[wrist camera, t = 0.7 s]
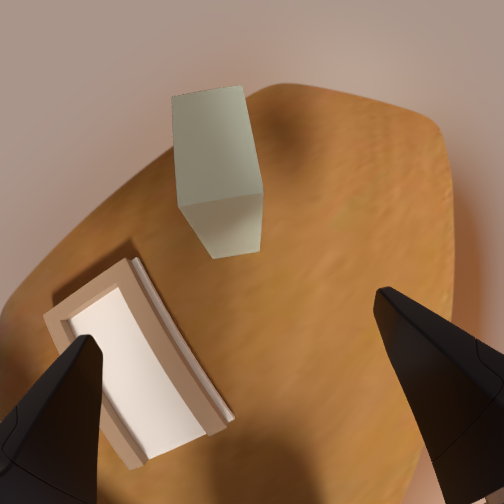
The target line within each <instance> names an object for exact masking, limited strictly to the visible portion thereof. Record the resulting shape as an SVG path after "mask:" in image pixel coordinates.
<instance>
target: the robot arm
mask: <svg viewBox="0 0 504 504" xmlns="http://www.w3.org/2000/svg"><path fill="white" fill-rule="evenodd" d="M373 312H374V317H375V319H376V322H377V325H378V328H379V331H380V334H381V337H382V340H383V343H384V346H385V349H386V352H387V354H388V357H389V359H390V362H391V364H392V366H393V368H394V370H395V373H396V375H397V377H398V379H399V382H400V384H401V386H402V389H403V391H404V393H405V395H406V398H407V400H408V403H409V405H410V407H411V410H412V412H413V415H414V417H415V420H416V422H417V425H418V427H419V430H420V432H421V435H422V437H423V440H424V442H425V445H426V448H427V450H428V453H429V456H430V458H431V461H432V464H433V467H434V470H435V473H436V476H437V479H438V482H439V485H440V488H441V491H442V494H443V497H444V500H445V503H446V504H472V503H474V502H476V501H478V500H480V499H482V498H484V497H485V499H486V503H484V504H504V354H502V353H500V352H498V351H496V350H495V349H493V348H491V347H490V346H488V345H486V344H485V343H483V342H481V341H480V340H478V339H475V337H473V336H472V335H470V334H469V333H467V332H465V331H464V330H462V329H461V328H459V327H457V326H455V325H454V324H452V323H451V322H449V321H447V320H446V319H444V318H442V317H441V316H439V315H438V314H436V313H434V312H433V311H431V310H429V309H427V308H426V307H424V306H422V305H421V304H419V303H417V302H416V301H414V300H412V299H411V298H409V297H407V296H405V295H404V294H402V293H400V292H399V291H397V290H395V289H393V288H392V287H383V288H379V289H378V290H377V291H376V296H375V302H374V307H373ZM102 383H103V353H102V350H101V349H100V347H99V345H98V344H97V342H96V341H95V339H94V338H93V336H92V335H90V334H83V335H79V336H78V337H77V338H76V339H75V340H74V341H73V342H72V343H71V344H70V345H69V346H68V347H67V349H66V350H65V351H64V352H63V353H62V354H61V355H60V356H59V357H58V358H57V359H56V360H55V361H54V363H53V364H52V365H51V366H50V367H49V368H48V369H47V370H46V371H45V372H44V374H43V375H42V376H41V377H40V378H39V379H38V380H37V381H36V383H35V384H34V385H33V386H32V387H31V388H30V389H29V390H28V392H27V393H26V394H25V395H24V396H23V397H22V399H21V400H20V401H19V402H18V403H17V405H16V406H15V407H14V408H13V409H12V410H11V412H10V413H9V414H8V415H7V416H6V417H5V418H4V420H3V421H2V422H1V423H0V504H97V457H98V439H99V426H100V415H101V405H102Z"/></svg>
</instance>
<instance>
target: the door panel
mask: <svg viewBox="0 0 504 504" xmlns="http://www.w3.org/2000/svg"><path fill="white" fill-rule="evenodd" d="M172 122H173V142H174V143H173V144H174V161H175V176H176V190H177V202H178V208H179V209H180V211H181V212H182V214H183V215H184V217H185V218H186V220H187V221H188V223H189V224H190V226H191V227H192V229H193V230H194V232H195V233H196V235H197V236H198V238H199V239H200V241H201V242H202V244H203V245H204V247H205V248H206V250H207V251H208V253H209V254H210V256H211V257H212V259H217V258H223V257H229V256H236V255H242V254H248V253H254V252H260V240H261V227H262V214H263V201H264V189H263V184H262V179H261V174H260V169H259V164H258V159H257V154H256V149H255V144H254V139H253V134H252V129H251V125H250V120H249V115H248V110H247V105H246V101H245V96H244V91H243V87H242V85H238V86H230V87H223V88H217V89H211V90H205V91H199V92H194V93H189V94H183V95H179V96H174V97H172Z"/></svg>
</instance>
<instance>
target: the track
mask: <svg viewBox="0 0 504 504" xmlns="http://www.w3.org/2000/svg"><path fill="white" fill-rule="evenodd" d="M43 317H44V320H45V322H46V325H47V327H48V330H49V332H50V334H51V337H52V339H53V341H54V343H55V346H56V348H57V350H58V352H59V354H60V355H61V354H62V353H63V352H64V351H65V350H66V349H67V347H68V346H69V345H70V344H71V343H72V342H73V341H74V340H75V339H76V338H77V337H78V336H79V335H83V334H90V335H92V336H93V338H94V339H95V341H96V342H97V344H98V345H99V347H100V349H101V350H102V353H103V383H102V405H101V415H100V426H99V427H100V429H101V430H102V432H103V433H104V435H105V436H106V438H107V439H108V441H109V442H110V444H111V445H112V447H113V448H114V450H115V451H116V452H117V454H118V455H119V457H120V458H121V459H122V461H123V462H124V463H125V465H126V466H127V467H128V469H129V470H133V469H136V468H138V467H141V466H143V465H145V463H146V462H147V461H148V460H149V459H151V458H153V457H156V456H158V455H161V454H163V453H165V452H168V451H170V450H172V449H174V448H177V447H179V446H181V445H183V444H186V443H188V442H190V441H192V440H194V439H196V438H198V437H200V436H202V435H204V434H207V435H208V436H209V437H210V436H212V435H214V434H216V433H218V432H220V431H222V430H224V429H226V428H227V426H228V422H230V421H232V420H234V418H235V416H234V415H233V414H232V412H231V411H230V409H229V408H228V406H227V405H226V404H225V402H224V401H223V399H222V398H221V396H220V395H219V393H218V392H217V390H216V389H215V387H214V386H213V384H212V383H211V381H210V380H209V378H208V377H207V375H206V374H205V372H204V371H203V369H202V368H201V366H200V364H199V363H198V361H197V360H196V358H195V356H194V355H193V353H192V352H191V350H190V348H189V347H188V345H187V343H186V342H185V340H184V339H183V337H182V335H181V334H180V332H179V330H178V328H177V327H176V325H175V323H174V322H173V320H172V318H171V316H170V315H169V313H168V311H167V309H166V308H165V306H164V304H163V302H162V301H161V299H160V297H159V295H158V293H157V292H156V290H155V288H154V286H153V284H152V282H151V280H150V279H149V277H148V275H147V273H146V271H145V269H144V267H143V265H142V263H141V261H140V259H139V258H137V257H136V258H134V259H133V260H129V259H127V258H124V259H122V260H121V261H119V262H118V263H116V264H115V265H113V266H112V267H110V268H109V269H107V270H106V271H104V272H103V273H101V274H100V275H98V276H97V277H96V278H94V279H93V280H91V281H90V282H88V283H87V284H86V285H84V286H83V287H81V288H80V289H78V290H77V291H76V292H74V293H73V294H71V295H70V296H69V297H67V298H66V299H65V300H63V301H62V302H60V303H59V304H58V305H56V306H55V307H54V308H52V309H51V310H50V311H48V312H47V313H46V314H44V315H43Z"/></svg>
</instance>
